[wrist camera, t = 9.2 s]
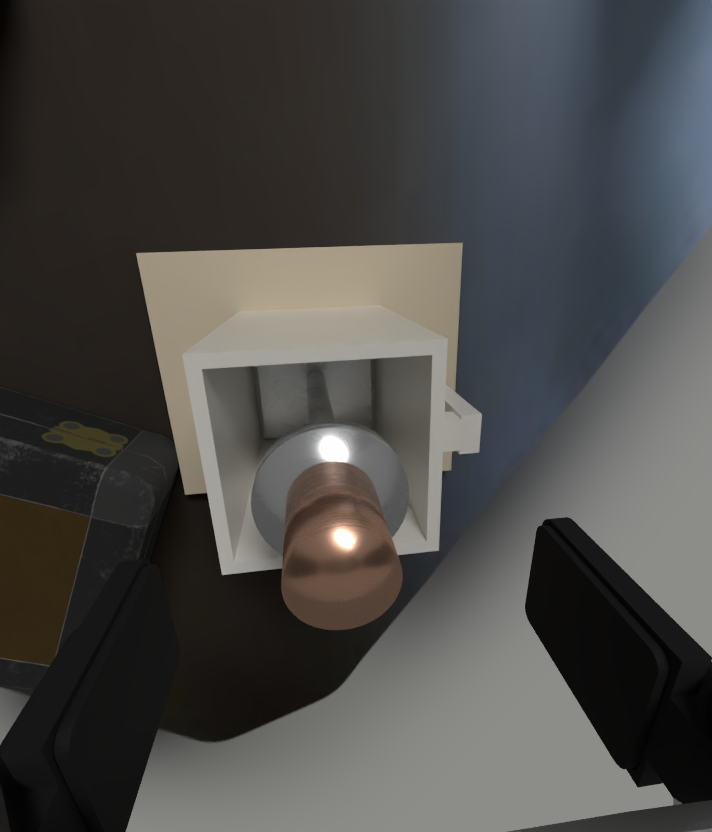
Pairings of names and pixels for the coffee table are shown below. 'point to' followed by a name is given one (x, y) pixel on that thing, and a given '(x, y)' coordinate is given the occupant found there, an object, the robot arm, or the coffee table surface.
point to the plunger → (329, 493)
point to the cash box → (68, 520)
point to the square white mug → (303, 343)
